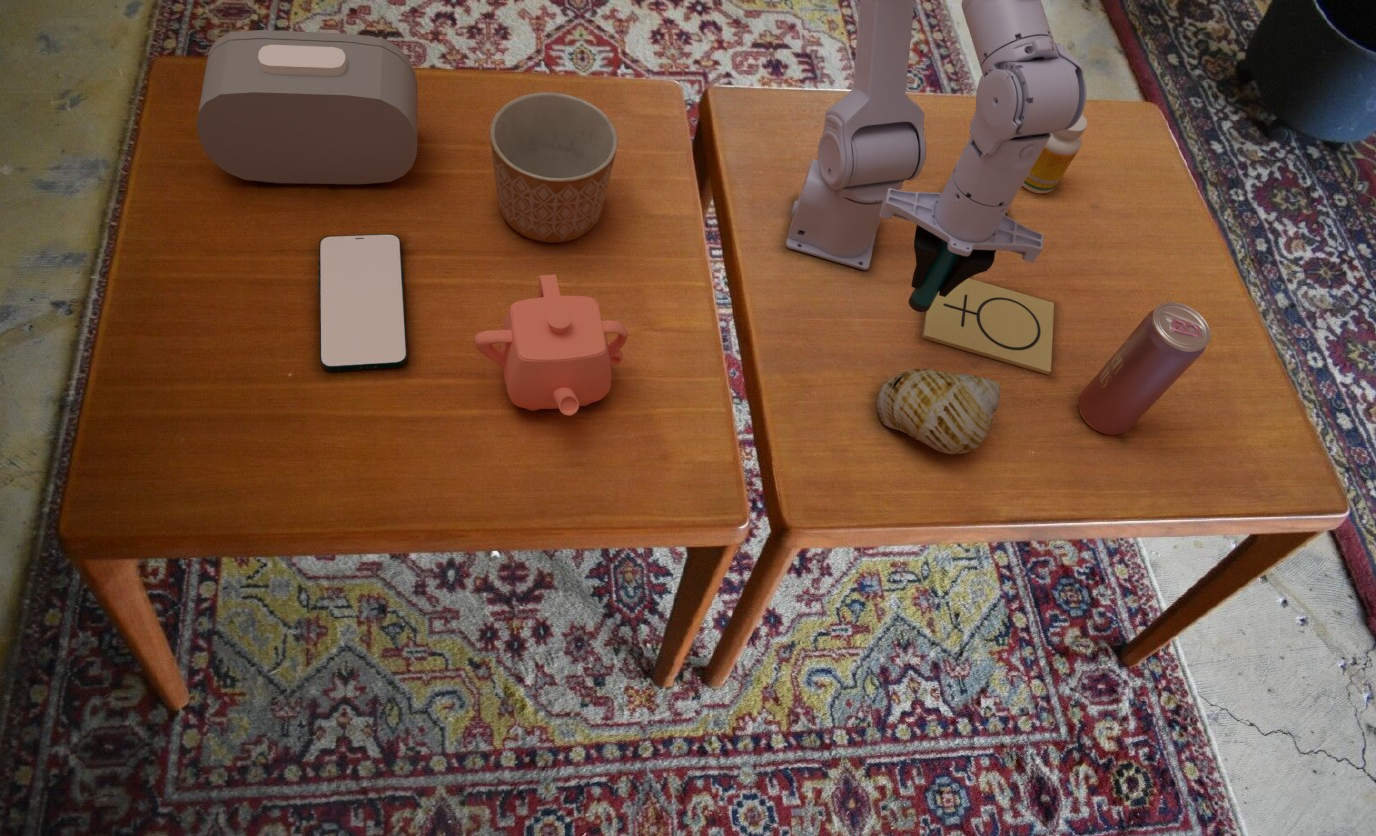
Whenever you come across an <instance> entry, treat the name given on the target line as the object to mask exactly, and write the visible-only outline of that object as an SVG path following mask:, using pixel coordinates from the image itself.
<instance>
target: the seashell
mask: <svg viewBox="0 0 1376 836" xmlns="http://www.w3.org/2000/svg"><path fill="white" fill-rule="evenodd" d="M1001 389H1002V387H1001V384H1000V383H999V382H997V380H993V379H991V378H987V377H981V376H978V375H972V374H968V373H967V374H966V373H964V374H963V373H962V374H958V373H954V372H947V371H941V370H935V369H931V368H923V367H922V368H921V367H920V368H913V369H909V370H906V371H903V372H901V373H899V374H897V375H895V376H893V377H892V378H890V379H889V380H887V381H886V382H885V383H884V384H883V385H882V387H881V389H880V391H879V393H878V397H877V401H876V412H877V413H876V414H877V416H878V418H879V420H880V422H881V423H882V424H883V425H884V426H886V427H888V428H890V429H893V430H897V431H900V432H902V433H904V434H907V435H908V436H909V437H912V438H913V439H914V440H916V441H919V442H921V443H923V444H925V445H926V446H928V447H930V448H932V449H933V450H936V451H938V452H940V453H944V454H947V455H948V454H949V455H962V454H965V453H971V452H972V451H974V450H976V449H977V448H979V447H980V446H981V445H982V444H983V442H984V441H985V439H986V437H987V435H988V434H989V432H990V429H991V426H992V423H993V420H994V415H995V413H996V411H997V409H998V407H999V403H1000V397H1001Z"/></svg>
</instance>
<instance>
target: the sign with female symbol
mask: <svg viewBox="0 0 1376 836" xmlns="http://www.w3.org/2000/svg"><path fill="white" fill-rule="evenodd" d="M924 314H925V315H924V322H923V327H922V328H923V329H922V334H921V335H922V336H921V338H922V339H924V340H926V341H927V340H928V341H931V342H933V343H937V344H941V345H944V346H948V347H951V348H954V349H958V350H961V351H965V352H968V353H972V354H975V355H978V356H983V357H986V358H989V359H993V360H997V361H999V362H1003V363H1006V364H1010V365H1013V366H1017V367H1020V368H1024V369H1027V370H1031V371H1034V372H1038V373H1041V374H1043V375H1044V374H1045V375H1048V376H1049V375H1050V374H1051V372H1052V359H1053V356H1052V355H1053V335H1054V317H1055V316H1054V315H1055V302H1053V301H1050V300H1046V299H1042V298H1039V297H1036V296H1032V295H1028V294H1025V293H1022V292H1018V291H1015V290H1011V289H1008V288H1004V287H1001V286H998V285H994V284H991V283H987V282H984V281H981V280H977V279H974V278H971V277H970V278H968V279H966V280H965V281H963V282H962V283H961V284H959V285H958V286H957V287H956V288H954V289H953V290H952V291H951V292H950V293H949V294H948V295H947V296H946V297H943V296H939V292H938V294H937V296H936V298H935V300H934V301H933V303H932V305H931V307H930V308H929V310H928V311H926V312H925V313H924Z"/></svg>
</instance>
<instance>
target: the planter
mask: <svg viewBox="0 0 1376 836" xmlns="http://www.w3.org/2000/svg"><path fill="white" fill-rule="evenodd" d="M489 139H490V140H489V141H490V148H491V156H492V163H493V173H494V180H495V187H496V195H497V202H498V204H497V205H498V209H499V211H500V213H501V216H502V218H503V219H504V221H505V222H506V223H507V224H508V225H509V227H511V229H513V230H514V231H515V232H517V233H518V234H520V235H522V236H523V237H525V238H528V239H530V240H534V241H537V242H541V243H548V244H549V243H552V244H555V243H566V242H570V241H573V240H576V239H579V238H580V237H582V236H584V235H585V234H587V233H589V232H590V231H591V230H592V229H593V228H594V227H595V225H596V224H597V223H598V221H599V219H600V218H601V214H602V211H603V208H604V207H603V206H604V202H605V199H606V194H607V191H608V186H609V182H610V179H611V174H612V171H613V167H614V163H615V158H616V154H617V150H618V145H619V137H618V133H617V129H616V127H615V125H614V123H613V122H612V120H611V119H610V118H609V116H608V115H607V114H606V113H605V112H604V111H603V110H601V108H599V107H597V105H595V104H593V103H591V102H590V101H588V100H586V99H583V98H580V97H578V96H575V95H571V94H568V93H562V92H551V91H542V92H534V93H528V94H524V95H521V96H519V97H516V98H514V99H511V100H510V101H508V102H507V103H506V104H504V105H503V106H501V108H499V109H498V111H497V112H496V113H495V114H494V116H493V118H492V120H491V122H490V127H489Z"/></svg>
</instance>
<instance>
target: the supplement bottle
mask: <svg viewBox="0 0 1376 836" xmlns="http://www.w3.org/2000/svg"><path fill="white" fill-rule="evenodd" d="M1087 127H1088V120H1087V118H1086V117H1085V115H1084V114H1083V113H1082V115H1081V117H1080V119H1079V120H1078V121H1077V123H1076V124H1075V125H1074V126H1073V127H1071V128H1069V129H1067V130H1062V131H1059V132H1055V133H1050V134H1051V137H1050V138H1049V140H1048V142H1047V144H1046V145H1045V147H1044V149H1043V150H1042V152H1041V154H1040V156H1039V157H1038V159H1037V161H1036V162H1035V164H1034V166H1033V167H1032V169H1031V171H1030V172H1029V174H1028V176H1027V178H1026V179H1025V181H1024V183H1023V184H1022V186H1021V187H1023V188H1025V189H1026V190H1027V191H1029V192H1032V193H1035V194H1047V193H1050V192H1052V191H1053V190H1054V189H1056V187H1057V186H1058V184H1059V182H1060V181H1061V179H1062V178H1063V176H1064V174H1065V173H1066V171H1067V170H1068V168H1069V167H1070V165H1071V164H1072V162H1073V160H1074V158H1075V157H1076V156H1077V154H1078V152H1080V149H1081V147H1082V142H1083V140H1082V135H1083V134H1084V132H1085V130H1086V129H1087Z"/></svg>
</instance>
